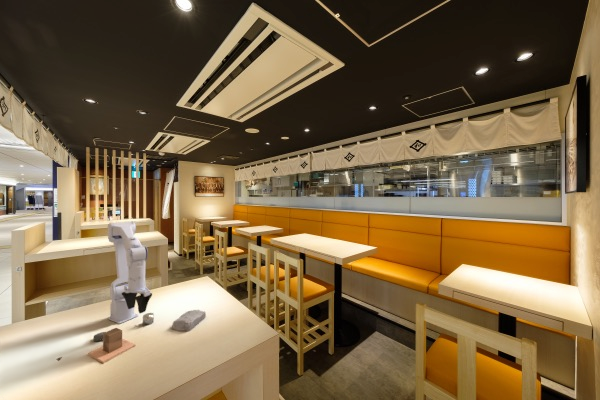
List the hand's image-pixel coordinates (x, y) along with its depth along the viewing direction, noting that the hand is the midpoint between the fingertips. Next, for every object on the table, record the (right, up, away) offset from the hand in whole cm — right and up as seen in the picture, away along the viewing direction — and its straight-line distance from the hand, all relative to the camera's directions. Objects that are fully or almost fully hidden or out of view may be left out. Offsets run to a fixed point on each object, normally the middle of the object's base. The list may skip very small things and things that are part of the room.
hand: (136, 310), depth 94 cm
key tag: (-17, -10, -15) cm, 24 cm away
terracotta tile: (-1, -9, -11) cm, 14 cm away
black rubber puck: (-11, -9, -4) cm, 15 cm away
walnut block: (-1, -9, -11) cm, 14 cm away
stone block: (+17, -10, +8) cm, 22 cm away
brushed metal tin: (0, -9, +8) cm, 12 cm away
